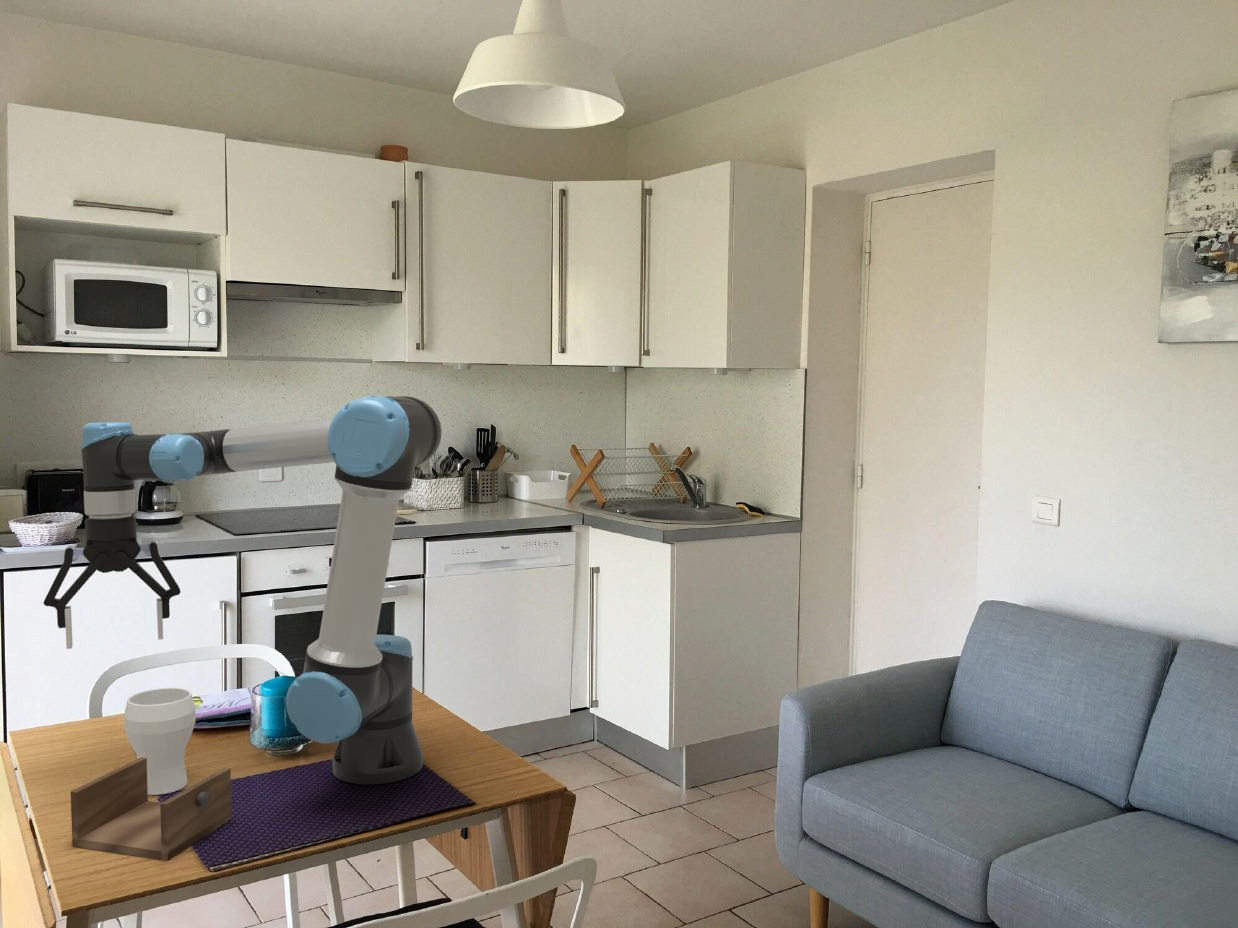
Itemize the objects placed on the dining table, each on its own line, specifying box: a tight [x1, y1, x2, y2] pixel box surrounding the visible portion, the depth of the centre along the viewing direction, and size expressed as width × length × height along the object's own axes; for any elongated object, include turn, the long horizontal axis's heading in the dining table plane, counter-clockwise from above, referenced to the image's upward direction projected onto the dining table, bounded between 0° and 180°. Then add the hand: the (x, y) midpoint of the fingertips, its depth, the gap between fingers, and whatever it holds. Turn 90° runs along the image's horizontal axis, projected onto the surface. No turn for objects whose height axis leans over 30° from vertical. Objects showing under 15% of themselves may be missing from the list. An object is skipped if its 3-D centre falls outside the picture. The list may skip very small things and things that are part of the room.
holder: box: [70, 757, 233, 862], centre depth 149 cm, size 18×14×8 cm
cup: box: [123, 687, 197, 796], centre depth 166 cm, size 11×11×15 cm
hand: (115, 642), depth 170 cm, fingers open, 13 cm apart
